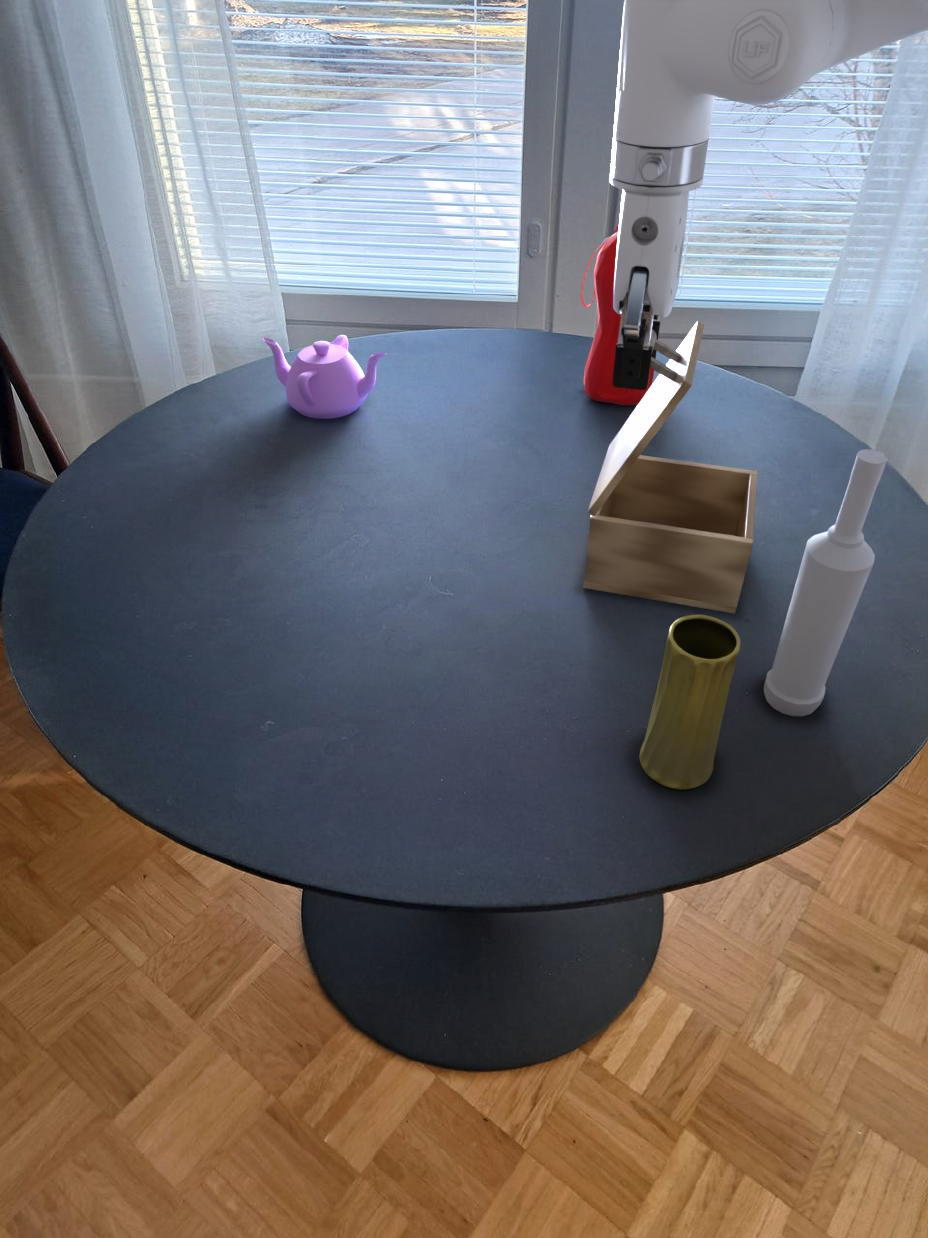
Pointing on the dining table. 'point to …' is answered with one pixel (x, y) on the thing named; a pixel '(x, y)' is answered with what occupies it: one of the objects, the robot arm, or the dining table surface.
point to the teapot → (324, 378)
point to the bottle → (825, 597)
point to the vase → (689, 702)
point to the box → (675, 534)
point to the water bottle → (607, 334)
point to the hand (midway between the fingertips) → (634, 372)
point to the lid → (649, 412)
